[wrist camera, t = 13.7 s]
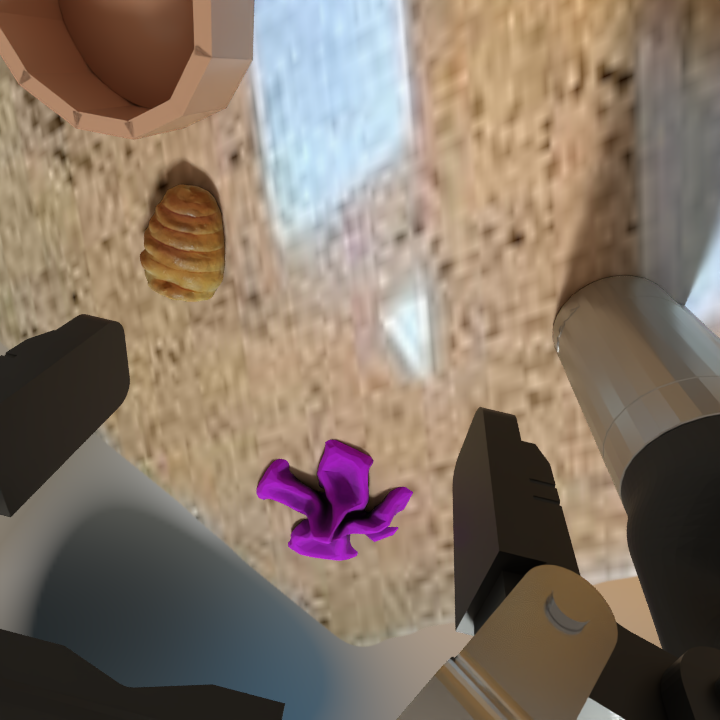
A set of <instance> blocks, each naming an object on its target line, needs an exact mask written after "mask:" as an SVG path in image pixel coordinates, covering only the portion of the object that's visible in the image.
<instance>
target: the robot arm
mask: <svg viewBox="0 0 720 720" xmlns="http://www.w3.org/2000/svg"><path fill="white" fill-rule="evenodd" d="M553 342H554V347H555V349H556V351H557V354H558V356H559V358H560V361H561V363H562V365H563V368H564V370H565V373H566V375H567V377H568V380H569V382H570V384H571V387H572V389H573V391H574V393H575V396H576V398H577V400H578V403H579V405H580V407H581V410H582V412H583V414H584V417H585V419H586V421H587V423H588V426H589V428H590V430H591V433H592V435H593V437H594V440H595V442H596V444H597V446H598V449H599V451H600V453H601V456H602V458H603V460H604V463H605V465H606V467H607V469H608V471H609V474H610V476H611V478H612V481H613V483H614V485H615V488H616V490H617V492H618V494H619V497H620V499H621V501H622V504H623V506H624V508H625V511H626V513H627V515H628V522H627V542H628V547H629V551H630V555H631V558H632V561H633V563H634V566H635V569H636V572H637V575H638V578H639V581H640V584H641V586H642V589H643V592H644V595H645V598H646V601H647V604H648V607H649V610H650V613H651V616H652V619H653V622H654V625H655V628H656V631H657V634H658V637H659V640H660V643H661V646H662V649H661V648H659V647H657V646H656V645H654V644H652V643H650V642H648V641H646V640H645V639H643V638H641V637H639V636H637V635H636V634H633V633H631V632H630V631H628V630H627V629H625V628H624V627H622V626H621V625H619V624H618V623H617V622H616V621H615V617H614V615H613V613H612V610H611V608H610V607H609V605H608V603H607V602H606V600H605V599H604V598H603V596H602V595H601V594H600V593H599V592H598V591H597V590H596V588H595V587H594V586H592V585H591V584H590V583H589V582H588V581H587V580H585V579H584V578H582V577H581V576H580V573H579V569H578V565H577V562H576V558H575V554H574V551H573V547H572V543H571V540H570V536H569V532H568V529H567V525H566V521H565V518H564V514H563V510H562V507H561V506H560V505H559V504H560V499H559V496H558V492H557V489H556V488H555V481H554V477H553V474H552V470H551V466H550V463H549V462H548V461H547V459H546V458H545V457H544V455H543V454H542V453H541V451H540V450H539V449H538V447H537V446H536V444H533V443H528V442H524V441H521V437H520V432H519V428H518V423H517V419H516V416H515V415H512V414H508V413H503V412H499V411H495V410H491V409H486V408H482V407H480V408H478V410H477V411H476V413H475V415H474V418H473V420H472V423H471V425H470V428H469V431H468V433H467V436H466V438H465V441H464V443H463V446H462V448H461V451H460V453H459V456H458V459H457V462H456V466H455V470H454V476H453V530H454V578H455V625H456V632H460V633H465V634H468V635H472V636H473V638H472V639H471V640H470V641H469V643H468V644H467V645H466V646H465V647H464V648H463V650H462V651H461V652H460V653H459V654H458V655H457V656H456V657H455V658H454V657H451V658H450V659H449V660H448V661H447V662H446V663H445V664H444V665H443V666H442V667H441V668H440V669H439V670H438V672H437V673H436V674H435V675H434V676H433V677H432V679H431V680H430V681H429V682H428V683H427V684H426V686H425V687H424V688H423V689H422V690H421V691H420V693H419V694H418V695H417V696H416V697H415V698H414V700H413V701H412V702H411V703H410V704H409V705H408V707H407V708H406V709H405V710H404V711H403V712H402V714H401V715H400V716H399V717H398V718H397V720H720V338H719V337H718V336H716V335H715V334H714V333H713V332H712V331H711V330H710V329H709V328H708V327H707V326H706V325H705V324H704V323H703V322H702V321H701V320H699V319H698V318H697V317H696V316H695V315H694V314H693V313H692V312H691V311H690V310H689V309H688V308H687V307H686V306H684V305H681V304H678V303H677V302H676V301H675V300H674V299H673V298H672V297H670V296H669V295H668V294H667V293H666V292H665V291H664V290H663V289H662V288H661V287H659V286H658V285H657V284H656V283H653V282H651V281H649V280H647V279H645V278H640V277H635V276H615V277H609V278H604V279H601V280H599V281H596V282H593V283H591V284H589V285H587V286H586V287H584V288H582V289H580V290H579V291H578V292H576V293H575V294H574V295H573V296H572V297H570V298H569V300H568V301H567V302H566V303H565V304H564V305H563V306H562V308H561V310H560V311H559V313H558V315H557V317H556V320H555V323H554V326H553ZM129 384H130V376H129V368H128V359H127V351H126V342H125V334H124V329H123V327H122V325H121V324H120V323H119V322H116V321H112V320H108V319H103V318H99V317H95V316H90V315H86V314H82V315H79V316H77V317H75V318H74V319H72V320H71V321H69V322H68V323H66V324H65V325H63V326H62V327H60V328H58V329H57V330H53V331H50V332H47V333H44V334H41V335H38V336H35V337H32V338H29V339H27V340H25V341H23V342H22V343H20V344H19V345H17V346H15V347H14V348H12V349H11V350H9V351H8V352H6V355H5V356H2V355H1V356H0V515H4V516H8V517H11V516H12V515H13V514H14V513H15V512H16V511H17V510H18V509H19V508H20V507H21V506H22V505H23V504H24V503H25V502H26V501H27V500H28V499H29V498H30V497H31V496H32V495H33V494H34V493H35V492H36V491H37V490H38V489H39V488H40V487H41V486H42V485H43V484H44V483H45V482H46V481H47V480H48V479H49V478H50V477H51V476H52V475H53V474H54V473H55V472H56V471H57V470H58V469H59V468H60V466H62V465H63V463H64V462H65V461H66V460H67V459H68V458H69V457H70V456H71V455H72V454H73V453H74V452H75V451H76V450H77V449H78V448H79V447H80V446H81V445H82V444H83V443H84V442H85V441H86V440H87V439H88V438H89V437H90V436H91V435H92V434H93V433H94V432H95V431H96V430H97V429H98V428H99V427H100V426H101V425H102V424H103V423H104V422H105V421H106V420H107V419H108V418H109V417H110V416H111V415H112V414H113V413H114V412H115V411H116V410H117V409H118V407H119V406H120V405H121V404H122V403H123V401H124V399H125V398H126V395H127V393H128V389H129ZM284 706H285V703H281V702H277V701H273V700H269V699H266V698H262V697H257V696H254V695H250V694H247V693H242V692H239V691H235V690H231V689H227V688H223V687H220V686H216V685H188V686H164V687H141V688H140V687H139V688H132V687H126V686H123V685H121V684H119V683H118V682H116V681H115V680H113V679H112V678H111V677H109V676H108V675H106V674H105V673H103V672H102V671H100V670H99V669H97V668H96V667H95V666H93V665H92V664H90V663H88V662H87V661H86V660H84V659H83V658H81V657H80V656H78V655H77V654H76V653H74V652H73V651H71V650H70V649H68V648H67V647H65V646H63V645H59V644H55V643H51V642H48V641H44V640H40V639H36V638H33V637H29V636H24V635H21V634H17V633H13V632H10V631H6V630H2V629H0V720H282V716H283V711H284Z"/></svg>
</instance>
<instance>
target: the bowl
mask: <svg viewBox="0 0 720 720" xmlns="http://www.w3.org/2000/svg"><path fill="white" fill-rule="evenodd" d="M253 26H254V0H0V55H1V56H2V58H3V60H4V61H5V63H6V64H7V66H8V67H9V69H10V71H11V72H12V74H13V75H14V77H15V79H16V80H17V82H18V83H19V85H20V86H22V87H23V88H24V89H26V90H27V91H28V92H30V93H31V94H32V95H33V96H35V97H36V98H37V99H39V100H40V101H41V102H43V103H44V104H45V105H46V106H48V107H49V108H50V109H52V110H53V111H54V112H56V113H57V114H58V115H59V116H61V117H62V118H63V119H65V120H66V121H67V122H69V123H70V124H71V125H72V126H74V127H75V128H76V129H82V130H87V131H92V132H97V133H103V134H108V135H113V136H118V137H123V138H129V139H133V140H135V139H139V138H143V137H148V136H152V135H156V134H161V133H165V132H169V131H174V130H178V129H182V128H185V127H187V126H189V125H191V124H194V123H196V122H198V121H200V120H202V119H204V118H206V117H208V116H210V115H212V114H214V113H217V112H219V111H221V110H223V109H225V108H227V106H228V104H229V102H230V100H231V98H232V97H233V95H234V93H235V91H236V89H237V88H238V86H239V84H240V82H241V80H242V78H243V77H244V75H245V73H246V71H247V69H248V68H249V66H250V64H251V62H252V60H253Z"/></svg>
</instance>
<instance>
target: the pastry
mask: <svg viewBox="0 0 720 720" xmlns="http://www.w3.org/2000/svg"><path fill="white" fill-rule="evenodd" d="M144 247H145V250H144V251H143V252H141V254H140V261H141V264H142V266H143V267H144V269H145V276H146V279H147V281H148V286H149V287H150V288H151V289H152V290H153V291H155V292H157V293H159V294H160V295H163V296H165V297H168V298H170V299H173V300H183V301H185V302H197V301H202V300H208V299H210V298H211V297H212V296H213V295H214V293H215V291H216V289H217V288H218V286H219V285H220V284H221V282H222V280H223V274H224V268H225V258H224V256H225V245H224V235H223V224H222V216H221V212H220V210H219V207H218V205H217V202H216V200H215V198H214V197H213V196H212V195H211V194H210V192H208V191H207V190H205V189H202V188H200V187H198V186H192V185H177V186H175V187H173V188H171V189H168V190H167V192H166V194H165V196H164V197H163V199H162V201H161V202H160V203H159V204H158V205H157V206H156V209H155V213H154V215H153V216H152V218H151V219H150V221H149V227H148V228H147V229H146V231H145V233H144Z"/></svg>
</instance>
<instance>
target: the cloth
mask: <svg viewBox="0 0 720 720" xmlns="http://www.w3.org/2000/svg"><path fill="white" fill-rule="evenodd" d="M325 443H326V445H325V451H324V454H323V457H322V459H321V462H320V464H319V468H318V471H317V476H318V478H319V486H320V487H321V488H324V489H325V492H318V491H315V490H313V489H311V488H309V487H308V486H306V485H304V484H303V483H301V482H300V481H299V480H298V479H297V478H296V477H295V476H294V475H293V474H292V473H291V472H290V470H289V463H288V462H287V461H286V460H284V459H278V460H276V461H274V462H273V463H272V464H271V465H270V466H269V468H268V469H267V470H266V472H265V474H264V476H263V478H262V479H261V481H260V482H259V484H258V487H257V495H258V497H259V498H260V499H263V500H265V499H272V500H275V501H278V502H280V503H283V504H285V505H287V506H289V507H290V508H292V509H294V510H296V511H298V512H300V513H302V514H305V515H306V516H307V518H308V519H305V520H303V521H301V523H300V524H299V525H298V526H297V527H296V528H295V529H294V530H293V531H292V533H291V539H290V541H289V542H288V546H289V547H290V548H291V549H292V550H294V551H296V552H297V553H299V554H301V555H305V556H309V557H315V558H322V559H329V560H347V559H350V558H353V557H355V556H357V553H358V552H357V551H356V550H355V549H354V548H353V547H352V546H351V543H350V534H365V535H366V536H368V537H369V538H370V539H371V540H372V541H374V542H375V541H378V540H381V539H383V538H386V537H389V536H392V535H393V534H394V533H395V532H396V531H397V529H398V527H388V526H389V525H390V523H391V521H392V519H393V517H394V516H395V515H396V513H398V512H400V511H402V510H404V508H405V506H406V505H407V503H408V501H409V500H410V497H411V495H412V494H413V492H412V491H410V490H409V489H407V488H406V487H399V488H396V489H394V490H392V491H390V492H389V494H388V495H387V496H386V498H385V499H384V501H383V502H382V503H380V504H379V505H378V506H376V507H375V508H374V509H373V510H372V511H370V512H367V511H366V510H365V507H366V505H367V503H368V499H369V489H368V473H369V468H370V467H371V465H372V464H373V460H372V458H371V457H370V456H368V455H366V454H364V453H362V452H360V451H358V450H356V449H354V448H352V447H350V446H348V445H346V444H343V443H341V442H339V441H337V440H328V441H327V442H325Z"/></svg>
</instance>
